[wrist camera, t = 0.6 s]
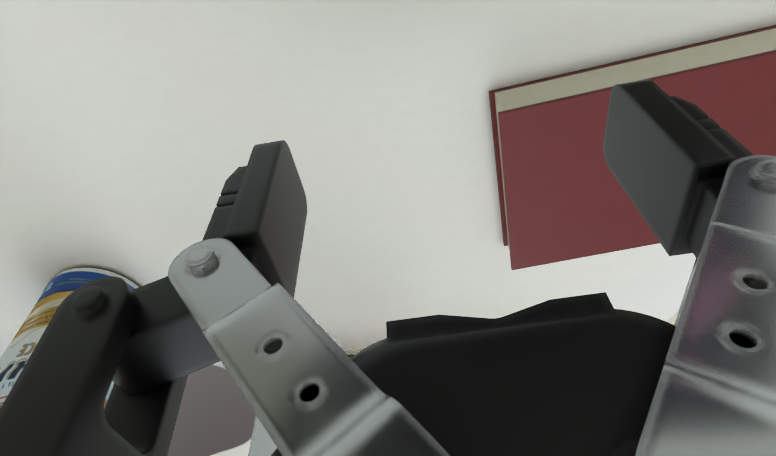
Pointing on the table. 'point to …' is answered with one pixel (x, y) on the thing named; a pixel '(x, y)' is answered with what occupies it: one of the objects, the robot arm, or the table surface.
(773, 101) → the book
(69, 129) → the table surface
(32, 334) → the beverage bottle
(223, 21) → the table surface
